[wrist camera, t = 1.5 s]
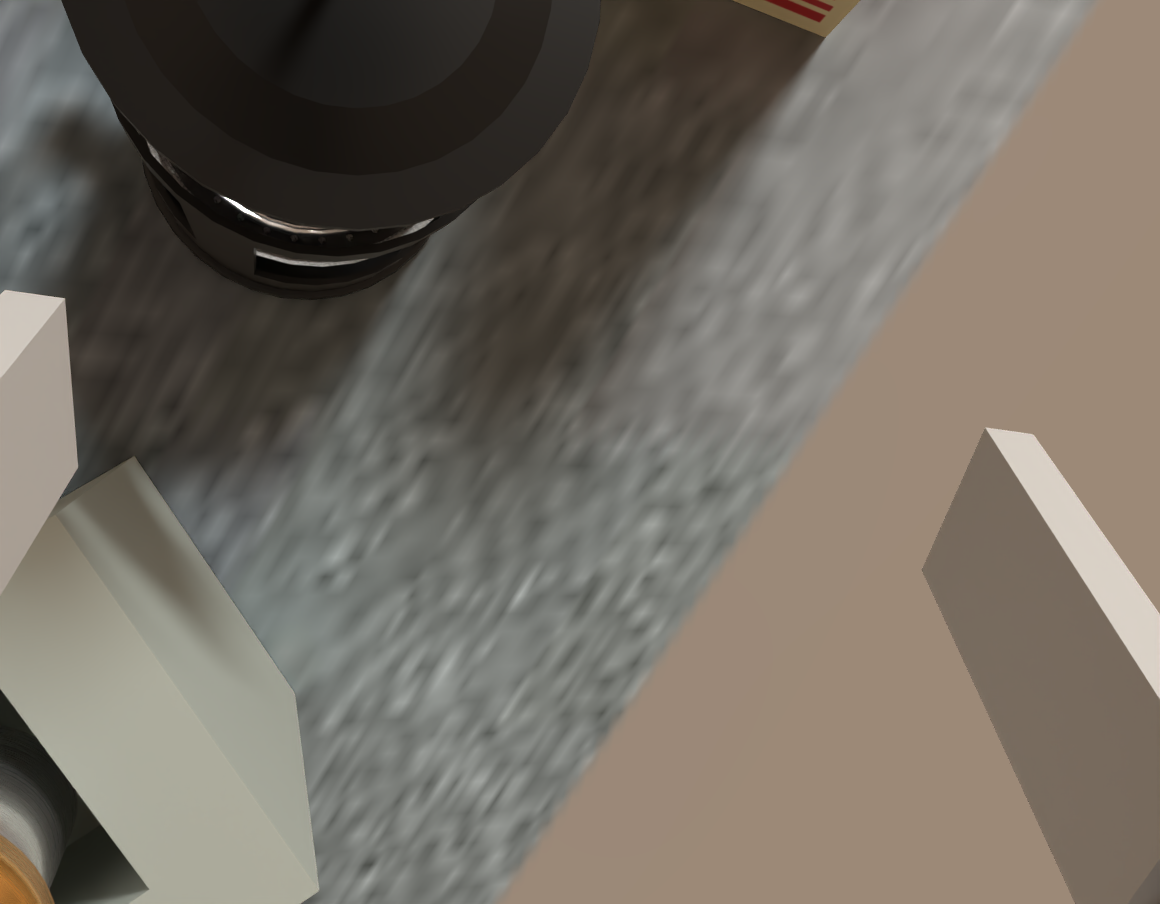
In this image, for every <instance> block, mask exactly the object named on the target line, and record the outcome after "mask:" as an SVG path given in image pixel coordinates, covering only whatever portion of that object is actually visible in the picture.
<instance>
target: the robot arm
mask: <svg viewBox="0 0 1160 904" xmlns="http://www.w3.org/2000/svg"><path fill="white" fill-rule="evenodd" d="M77 468H78V459H77V446H76V433H75V420H74V408H73V395H72V382H71V369H70V356H69V344H68V331H67V318H66V305H65V298H58V297H51V296H44V295H37V294H30V293H23V292H16V291H9V290H4V291H3V292H2V294H1V295H0V596H1V594H2V592H3V591H4V589H5V587H6V586H7V584H8V582H9V581H10V579H11V577H12V576H13V574H14V572H15V571H16V569H17V567H18V566H19V564H20V562H21V561H22V559H23V558H24V556H25V554H26V553H27V551H28V549H29V548H30V546H31V544H32V543H33V541H34V539H35V538H36V536H37V534H38V533H39V531H40V529H41V528H42V526H43V525H44V523H45V521H46V520H47V518H48V516H49V515H50V513H51V511H52V510H53V508H54V506H55V505H56V503H57V501H58V500H59V498H60V496H61V495H62V493H63V491H64V490H65V488H66V487H67V485H68V483H69V482H70V480H71V478H72V477H73V475H74V473H75V472H76V470H77ZM922 572H923V574H924V576H925V578H926V580H927V583H928V585H929V587H930V589H931V591H932V593H933V596H934V598H935V600H936V602H937V604H938V606H939V609H940V611H941V613H942V615H943V617H944V619H945V622H946V624H947V626H948V628H949V630H950V633H951V635H952V637H953V639H954V641H955V643H956V646H957V648H958V650H959V652H960V654H961V656H962V659H963V661H964V663H965V665H966V667H967V670H968V672H969V674H970V676H971V678H972V680H973V682H974V685H975V687H976V689H977V691H978V693H979V695H980V698H981V700H982V702H983V704H984V706H985V709H986V711H987V713H988V715H989V717H990V720H991V722H992V724H993V726H994V728H995V730H996V733H997V735H998V737H999V739H1000V741H1001V743H1002V746H1003V748H1004V750H1005V752H1006V754H1007V756H1008V759H1009V760H1010V763H1011V765H1012V767H1013V769H1014V772H1015V774H1016V776H1017V778H1018V780H1019V783H1020V784H1021V787H1022V789H1023V791H1024V793H1025V796H1026V798H1027V800H1028V802H1029V804H1030V806H1031V809H1032V811H1033V813H1034V815H1035V817H1036V819H1037V822H1038V824H1039V826H1040V828H1041V830H1042V833H1043V835H1044V837H1045V839H1046V841H1047V843H1048V846H1049V848H1050V850H1051V852H1052V854H1053V856H1054V859H1055V861H1056V863H1057V865H1058V867H1059V869H1060V872H1061V874H1062V876H1063V878H1064V880H1065V883H1066V885H1067V887H1068V889H1069V891H1070V893H1071V896H1072V898H1073V900H1074V902H1075V904H1160V614H1159V612H1158V611H1157V610H1156V608H1155V607H1154V605H1153V604H1152V603H1151V601H1150V600H1149V598H1148V597H1147V595H1146V594H1145V593H1144V591H1143V590H1142V588H1141V587H1140V585H1139V584H1138V583H1137V581H1136V580H1135V578H1134V577H1133V575H1132V574H1131V573H1130V571H1129V570H1128V568H1127V567H1126V566H1125V564H1124V563H1123V561H1122V560H1121V558H1120V557H1119V556H1118V554H1117V553H1116V552H1115V550H1114V548H1113V547H1112V546H1111V544H1110V543H1109V541H1108V540H1107V539H1106V537H1105V536H1104V534H1103V533H1102V531H1101V530H1100V529H1099V527H1098V526H1097V524H1096V523H1095V522H1094V520H1093V519H1092V517H1091V516H1090V514H1089V513H1088V512H1087V510H1086V509H1085V507H1084V506H1083V504H1082V503H1081V502H1080V500H1079V499H1078V498H1077V496H1076V494H1075V493H1074V492H1073V490H1072V489H1071V487H1070V486H1069V485H1068V483H1067V482H1066V480H1065V479H1064V477H1063V476H1062V475H1061V473H1060V472H1059V470H1058V469H1057V468H1056V466H1055V465H1054V463H1053V462H1052V460H1051V459H1050V458H1049V456H1048V455H1047V453H1046V452H1045V450H1044V449H1043V448H1042V446H1041V445H1040V443H1039V442H1038V440H1037V439H1036V438H1035V436H1034V435H1033V434H1027V433H1020V432H1013V431H1006V430H999V429H992V428H985V429H984V432H983V434H982V436H981V438H980V441H979V443H978V445H977V447H976V449H975V452H974V454H973V456H972V459H971V461H970V463H969V465H968V467H967V470H966V472H965V474H964V476H963V479H962V481H961V484H960V485H959V488H958V490H957V492H956V494H955V497H954V499H953V501H952V503H951V506H950V508H949V510H948V512H947V515H946V517H945V519H944V521H943V524H942V526H941V528H940V530H939V533H938V535H937V537H936V540H935V542H934V544H933V546H932V548H931V550H930V553H929V555H928V557H927V560H926V562H925V564H924V566H923V568H922Z"/></svg>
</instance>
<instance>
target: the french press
mask: <svg viewBox="0 0 1160 904" xmlns="http://www.w3.org/2000/svg"><path fill="white" fill-rule="evenodd" d="M61 1H62V3H63V6H64V8H65V11H66V13H67V16H68V18H69V21H70V23H71V26H72V28H73V31H74V33H75V36H76V39H77V41H78V44H79V46H80V49H81V51H82V53H83V55H84V57H85V59H86V60H87V62H88V64H89V65H90V67H91V68H92V70H93V72H94V73H95V75H96V76H97V78H98V79H99V81H100V83H101V84H102V86H103V87H104V89H105V91H106V92H107V94H108V95H109V97H110V99H111V101H112V104H113V106H114V109H115V112H116V114H117V117H118V119H119V121H120V123H121V125H122V126H123V128H124V130H125V132H126V134H127V135H128V137H129V138H130V140H131V142H132V143H133V145H134V146H135V148H136V149H137V151H138V153H139V154H140V156H141V157H142V162H143V167H144V173H145V176H146V179H147V182H148V184H149V187H150V189H151V192H152V194H153V197H154V199H155V202H156V204H157V206H158V208H159V209H160V211H161V213H162V214H163V216H164V217H165V219H166V220H167V222H168V224H169V225H170V227H171V228H172V230H173V231H174V233H175V234H176V235H177V236H178V237H179V239H180V240H181V241H182V242H183V243H184V244H185V245H186V246H187V247H188V248H189V249H190V250H191V251H192V252H193V253H194V254H195V256H196V257H198V258H199V259H200V260H202V261H203V262H204V263H206V264H207V265H208V266H210V267H211V268H213V269H214V270H215V271H217V272H218V273H219V274H221V275H222V276H224V277H226V278H228V279H230V280H232V281H234V282H236V283H238V284H241V285H243V286H245V287H247V288H249V289H251V290H255V291H258V292H262V293H266V294H270V295H273V296H277V297H281V298H293V299H307V300H315V299H323V298H331V297H339V296H344V295H347V294H350V293H353V292H356V291H359V290H362V289H365V288H368V287H370V286H372V285H374V284H376V283H377V282H379V281H381V280H383V279H384V278H386V277H388V276H390V275H391V274H393V273H395V272H396V271H397V270H398V269H399V268H401V267H402V266H403V265H404V264H405V263H406V262H407V261H408V260H410V259H411V258H412V257H413V256H414V255H415V254H416V253H417V252H418V251H419V250H420V248H421V247H422V246H423V244H424V243H425V242H426V240H427V239H428V238H429V236H430V235H431V234H433V233H435V232H436V231H438V230H440V229H442V228H443V227H445V226H446V225H448V224H449V223H450V222H452V221H453V220H454V219H456V218H457V217H458V216H459V215H460V214H461V213H462V212H463V211H465V210H466V209H467V208H468V207H469V206H470V205H471V204H473V203H474V202H475V201H476V200H477V199H478V198H480V197H482V196H484V195H485V194H487V193H489V192H491V191H492V190H494V189H496V188H498V187H499V186H501V185H502V184H503V183H504V182H505V181H507V180H508V179H509V178H510V177H511V176H512V175H513V174H514V173H516V172H517V171H518V170H519V169H520V168H521V167H522V166H523V165H525V164H526V163H527V162H528V161H529V160H530V159H531V158H533V157H534V156H535V155H536V154H537V153H538V152H539V151H540V149H541V148H542V147H543V145H544V144H545V143H546V141H547V140H548V139H549V137H550V136H551V135H552V133H553V132H554V131H555V129H556V128H557V127H558V125H559V124H560V123H561V121H562V120H563V119H564V117H565V116H566V115H567V113H568V111H569V109H570V106H571V104H572V102H573V100H574V98H575V96H576V94H577V91H578V89H579V87H580V85H581V83H582V81H583V79H584V76H585V74H586V72H587V70H588V66H589V62H590V58H591V54H592V50H593V46H594V42H595V38H596V34H597V30H598V26H599V22H600V4H601V0H61ZM137 131H138V132H139V133H138V132H137Z"/></svg>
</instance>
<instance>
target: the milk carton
mask: <svg viewBox="0 0 1160 904" xmlns="http://www.w3.org/2000/svg"><path fill="white" fill-rule="evenodd" d="M733 1H735V2H738V3H740V4H743V5H745V6H748V7H750V8H753V9H755V10H758V11H760V12H763V13H765V14H768V15H770V16H773V17H775V18H778V19H780V20H783V21H785V22H788V23H790V24H793V25H795V26H798V27H800V28H803V29H805V30H808V31H810V32H813V33H815V34H818V35H820V36H823V37H825V38H826V36H827V35H828V34H829V33H830V32H831V31H832V30H833V29H834V28H835V27H836V26H837V25H838V24H839V23H840V22H841V21H842V19H843V18H844V17H845V16H846V15H847V14H848V13H849V12H850V11H851V10H852V9H853V8H854V7H855V6H856V5H857V3H858V2H859V1H860V0H733Z"/></svg>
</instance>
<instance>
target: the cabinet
mask: <svg viewBox="0 0 1160 904" xmlns="http://www.w3.org/2000/svg"><path fill="white" fill-rule="evenodd" d="M0 726H5V727H9V728H14V729H18V730H21V731H24V732H26V733H29V734H31V735H33V736H35V737H37V739H38V740H39V741H40V743H41V744H42V746H43V747H44V748H45V750H46V751H47V752H48V754H49V755H50V756H51V758H52V759H53V760H54V762H55V763H56V764H57V766H58V767H59V768H60V770H61V771H62V772H63V774H64V775H65V776H66V778H67V779H68V781H69V782H70V783H71V785H72V786H73V787H74V789H75V790H76V794H77V815H76V820H75V825H74V828H73V831H72V834H71V836H70V839H69V841H68V844H67V847H66V849H65V852H64V854H63V857H62V859H61V862H60V864H59V867H58V870H57V872H56V875H55V877H54V880H53V882H52V885H51V887H50V893H51V895H52V897H53V899H54V903H55V904H301V903H302V902H303V901H305V900H306V899H308V898H309V897H311V896H312V895H314V894H315V893H316V892H318V891H319V884H318V875H317V867H316V859H315V851H314V843H313V835H312V827H311V819H310V811H309V803H308V795H307V787H306V779H305V771H304V763H303V755H302V747H301V739H300V731H299V723H298V715H297V707H296V699H295V693H294V692H293V690H292V689H291V687H290V686H289V684H288V683H287V681H286V680H285V678H284V677H283V675H282V674H281V672H280V671H279V669H278V668H277V666H276V665H275V663H274V662H273V660H272V659H271V657H270V656H269V654H268V653H267V652H266V650H265V649H264V647H263V646H262V644H261V643H260V641H259V640H258V638H257V637H256V635H255V634H254V632H253V631H252V629H251V628H250V626H249V625H248V623H247V622H246V620H245V619H244V617H243V616H242V615H241V613H240V612H239V610H238V609H237V607H236V606H235V604H234V603H233V601H232V600H231V598H230V597H229V595H228V594H227V592H226V591H225V589H224V588H223V586H222V585H221V583H220V582H219V580H218V579H217V577H216V576H215V575H214V573H213V572H212V570H211V569H210V567H209V566H208V564H207V563H206V561H205V560H204V558H203V557H202V555H201V554H200V552H199V551H198V549H197V548H196V546H195V545H194V543H193V542H192V540H191V539H190V537H189V536H188V535H187V533H186V532H185V530H184V529H183V527H182V526H181V524H180V523H179V521H178V520H177V518H176V517H175V515H174V514H173V512H172V511H171V509H170V508H169V506H168V505H167V503H166V502H165V500H164V499H163V497H162V496H161V495H160V493H159V492H158V490H157V489H156V487H155V486H154V484H153V483H152V481H151V480H150V478H149V477H148V475H147V474H146V472H145V471H144V469H143V468H142V466H141V465H140V463H139V462H138V460H137V459H136V457H135V456H133V457H131V458H130V459H128V460H126V461H125V462H123V463H121V464H119V465H118V466H116V467H114V468H113V469H111V470H109V471H107V472H106V473H104V474H102V475H100V476H99V477H97V478H95V479H94V480H92V481H90V482H88V483H87V484H85V485H83V486H81V487H80V488H78V489H76V490H75V491H73V492H71V493H69V494H68V495H66V496H64V497H63V498H61V499H59V500H58V501H57V503H56V505H55V506H54V508H53V510H52V511H51V513H50V515H49V516H48V518H47V520H46V521H45V523H44V525H43V526H42V528H41V529H40V531H39V533H38V534H37V536H36V538H35V539H34V541H33V543H32V544H31V546H30V548H29V549H28V551H27V553H26V554H25V556H24V558H23V559H22V561H21V562H20V564H19V566H18V567H17V569H16V571H15V572H14V574H13V576H12V577H11V579H10V581H9V582H8V584H7V586H6V587H5V589H4V591H3V592H2V594H1V596H0Z"/></svg>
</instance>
